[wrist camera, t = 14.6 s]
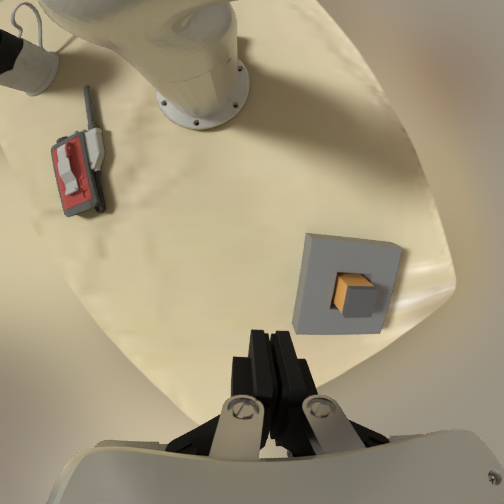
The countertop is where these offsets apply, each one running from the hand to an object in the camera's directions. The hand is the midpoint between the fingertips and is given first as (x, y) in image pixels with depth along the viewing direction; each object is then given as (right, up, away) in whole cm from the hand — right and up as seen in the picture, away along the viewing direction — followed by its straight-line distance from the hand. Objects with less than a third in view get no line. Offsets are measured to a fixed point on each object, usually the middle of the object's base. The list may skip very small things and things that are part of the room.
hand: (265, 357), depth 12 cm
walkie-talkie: (-26, +20, +22) cm, 39 cm away
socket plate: (+13, 0, +29) cm, 32 cm away
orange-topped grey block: (+13, 0, +28) cm, 31 cm away
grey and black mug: (-36, +38, +16) cm, 55 cm away
